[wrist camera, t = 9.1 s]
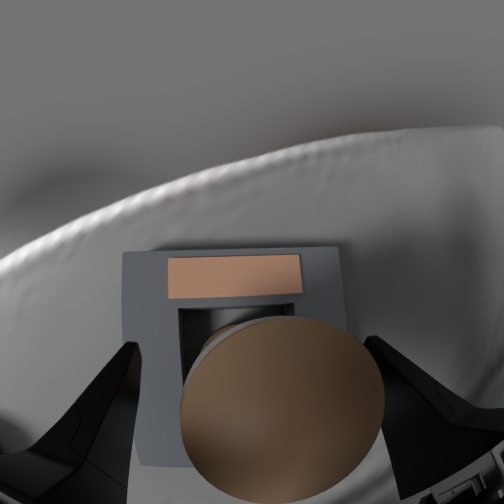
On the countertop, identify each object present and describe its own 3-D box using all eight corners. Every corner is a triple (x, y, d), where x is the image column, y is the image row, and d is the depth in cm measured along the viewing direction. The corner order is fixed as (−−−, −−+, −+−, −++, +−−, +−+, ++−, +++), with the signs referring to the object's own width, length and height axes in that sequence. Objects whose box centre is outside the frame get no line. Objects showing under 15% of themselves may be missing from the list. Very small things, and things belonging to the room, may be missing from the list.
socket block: (335, 433, 17) (352, 445, 14) (147, 450, 15) (139, 466, 12) (323, 255, 21) (339, 245, 18) (133, 261, 18) (121, 250, 16)
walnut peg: (288, 371, 18) (411, 426, 6) (224, 409, 17) (253, 530, 4) (250, 308, 19) (329, 271, 6) (184, 346, 17) (130, 385, 5)
